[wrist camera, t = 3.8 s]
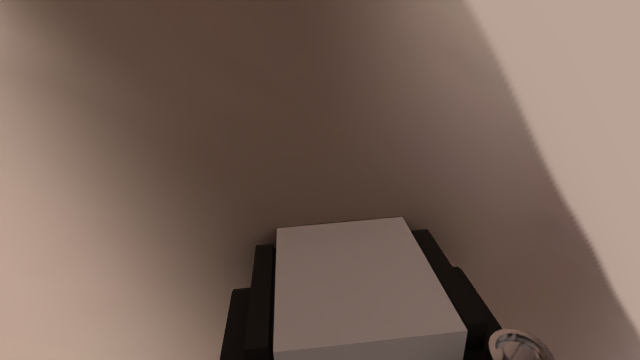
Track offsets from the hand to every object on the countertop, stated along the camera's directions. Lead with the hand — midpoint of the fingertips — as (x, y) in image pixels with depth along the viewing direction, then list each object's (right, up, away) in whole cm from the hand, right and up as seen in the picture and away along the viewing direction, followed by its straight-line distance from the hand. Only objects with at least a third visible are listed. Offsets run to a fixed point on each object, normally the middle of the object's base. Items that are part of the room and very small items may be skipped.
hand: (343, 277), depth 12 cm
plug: (0, -4, +3) cm, 5 cm away
